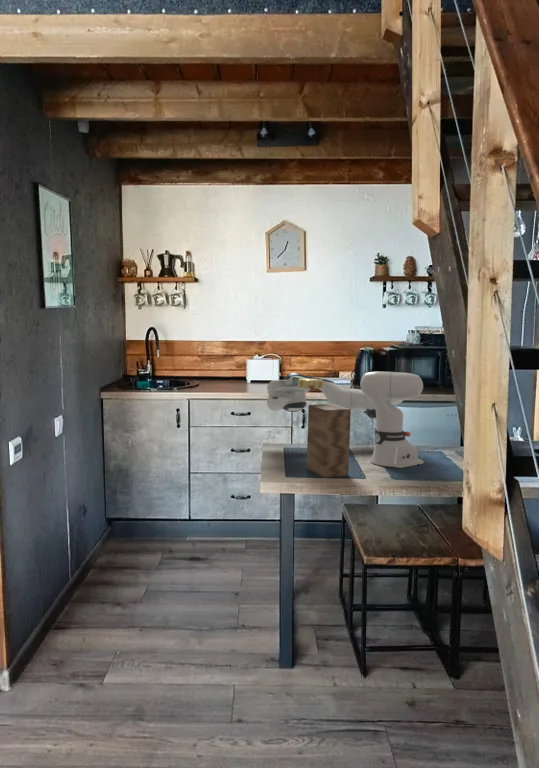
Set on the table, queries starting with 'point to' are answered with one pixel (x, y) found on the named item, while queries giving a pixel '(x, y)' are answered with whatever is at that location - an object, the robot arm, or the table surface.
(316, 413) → the walnut stand
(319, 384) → the gear axle
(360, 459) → the table surface
